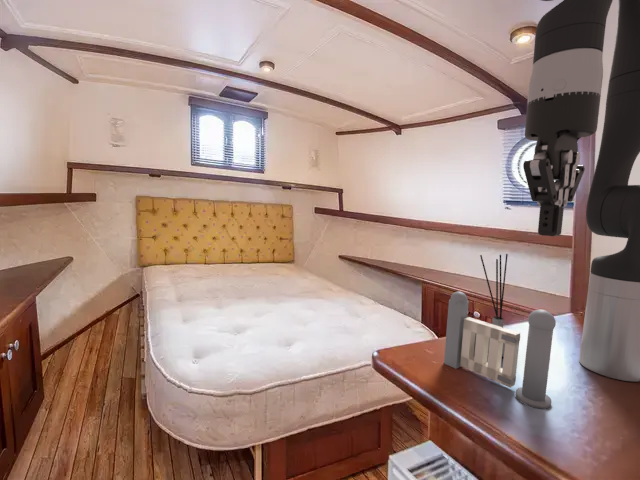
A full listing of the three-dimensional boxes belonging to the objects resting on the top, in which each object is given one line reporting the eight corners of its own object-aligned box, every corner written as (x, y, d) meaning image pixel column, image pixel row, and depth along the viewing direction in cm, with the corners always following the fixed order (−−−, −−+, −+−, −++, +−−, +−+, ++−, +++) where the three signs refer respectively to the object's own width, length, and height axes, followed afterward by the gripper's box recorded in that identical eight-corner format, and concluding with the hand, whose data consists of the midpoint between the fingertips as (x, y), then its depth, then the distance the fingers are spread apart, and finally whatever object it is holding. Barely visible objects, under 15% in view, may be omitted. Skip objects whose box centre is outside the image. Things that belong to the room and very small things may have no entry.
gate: (515, 384, 54) (520, 332, 53) (509, 387, 53) (515, 335, 52) (465, 363, 61) (469, 316, 60) (459, 365, 60) (463, 318, 59)
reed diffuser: (503, 367, 61) (514, 258, 59) (464, 355, 66) (472, 253, 63) (515, 349, 69) (525, 252, 67) (479, 339, 73) (487, 248, 71)
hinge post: (523, 387, 55) (532, 303, 53) (556, 401, 51) (567, 311, 49) (509, 397, 52) (519, 308, 50) (543, 412, 48) (554, 317, 46)
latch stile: (454, 358, 64) (459, 288, 63) (482, 370, 60) (489, 295, 58) (442, 363, 62) (447, 290, 60) (471, 376, 58) (478, 298, 56)
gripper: (550, 112, 49) (539, 230, 51) (505, 95, 42) (494, 235, 44) (617, 100, 43) (601, 235, 45) (578, 78, 36) (561, 241, 38)
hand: (549, 235), depth 45 cm, fingers closed
